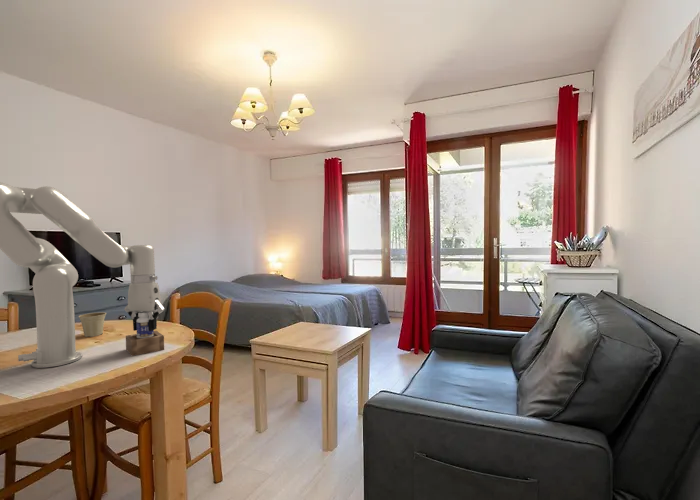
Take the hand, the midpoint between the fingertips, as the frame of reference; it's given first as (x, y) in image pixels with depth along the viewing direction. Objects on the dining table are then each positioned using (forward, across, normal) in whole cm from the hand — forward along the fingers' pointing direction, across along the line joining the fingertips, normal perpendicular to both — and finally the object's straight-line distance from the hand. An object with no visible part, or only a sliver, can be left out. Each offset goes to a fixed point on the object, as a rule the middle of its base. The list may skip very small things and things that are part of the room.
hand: (145, 329), depth 127 cm
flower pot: (+7, +36, -16) cm, 40 cm away
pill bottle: (+3, 0, 0) cm, 3 cm away
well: (+7, 0, 0) cm, 7 cm away
